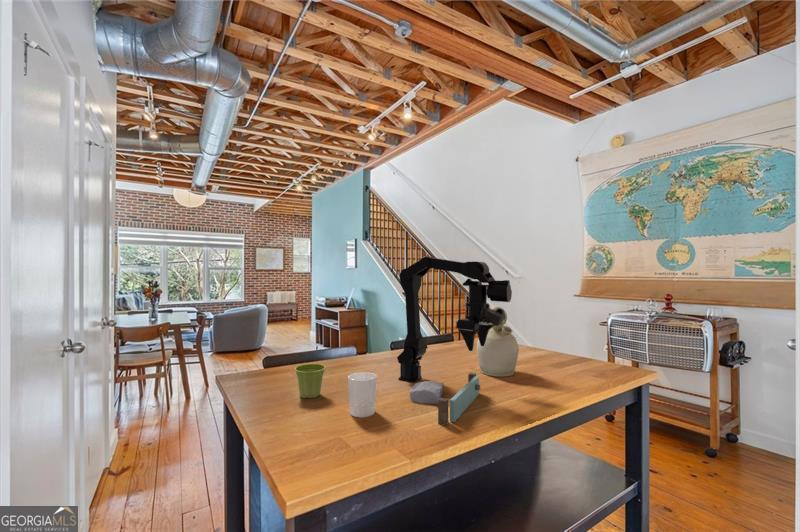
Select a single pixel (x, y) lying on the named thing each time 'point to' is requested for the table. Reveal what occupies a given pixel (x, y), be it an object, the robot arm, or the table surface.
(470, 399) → the gate
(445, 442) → the table surface
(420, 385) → the stone block
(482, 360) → the jug
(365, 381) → the white cup
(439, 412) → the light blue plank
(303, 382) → the plant pot
